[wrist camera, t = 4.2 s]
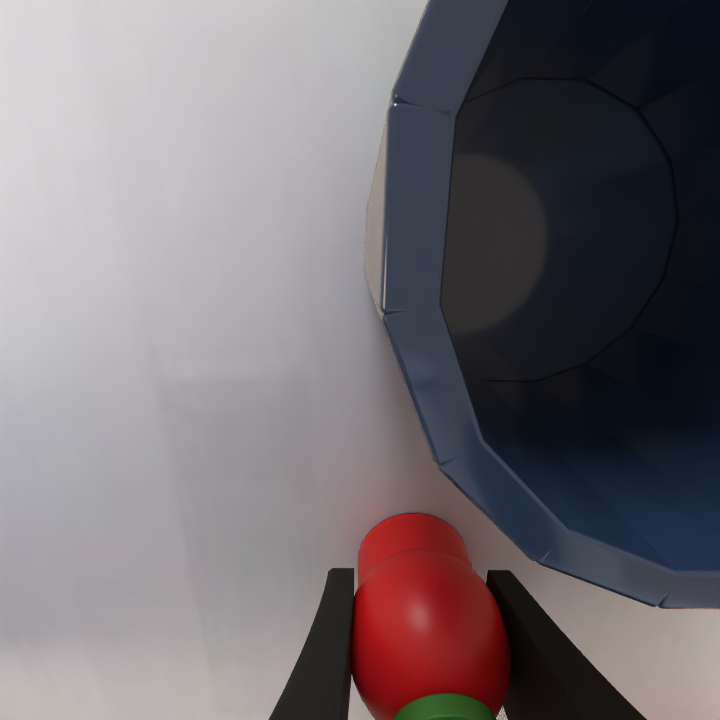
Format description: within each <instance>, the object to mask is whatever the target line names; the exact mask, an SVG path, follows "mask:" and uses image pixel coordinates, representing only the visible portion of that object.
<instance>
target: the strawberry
mask: <svg viewBox="0 0 720 720" xmlns="http://www.w3.org/2000/svg"><path fill="white" fill-rule="evenodd" d="M350 669H351V673H352V676H353V680H354V683H355V685H356V687H357V690H358V692H359V694H360V696H361V698H362V701H363V702H364V704H365V705H366V707H367V708H368V710H369V711H370V713H371V714H372V716H373V717H374V718H375V719H376V720H496V717H497V715H498V714H499V712H500V710H501V707H502V705H503V703H504V700H505V698H506V694H507V690H508V686H509V682H510V673H511V649H510V640H509V635H508V631H507V627H506V623H505V620H504V617H503V614H502V612H501V609H500V607H499V605H498V603H497V601H496V599H495V597H494V595H493V594H492V592H491V591H490V589H489V588H488V586H487V585H486V583H485V582H484V581H483V580H482V579H481V578H480V576H479V575H478V574H477V573H476V572H475V571H474V570H473V568H472V565H471V562H470V560H469V557H468V554H467V552H466V549H465V546H464V544H463V541H462V539H461V537H460V536H459V534H458V533H457V532H456V531H455V530H454V529H453V528H452V527H451V526H450V525H449V524H447V523H446V522H444V521H443V520H441V519H439V518H436V517H433V516H430V515H426V514H417V513H412V514H402V515H398V516H394V517H391V518H389V519H387V520H385V521H383V522H381V523H380V524H378V525H377V526H375V527H374V528H373V529H372V530H371V531H370V532H369V533H368V535H367V536H366V537H365V539H364V541H363V542H362V545H361V547H360V550H359V555H358V589H357V591H356V593H355V596H354V610H353V622H352V635H351V652H350Z"/></svg>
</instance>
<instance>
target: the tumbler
mask: <svg viewBox="0 0 720 720" xmlns="http://www.w3.org/2000/svg"><path fill="white" fill-rule="evenodd" d="M365 275H366V281H367V284H368V286H369V289H370V292H371V294H372V297H373V300H374V302H375V305H376V308H377V311H378V313H379V316H380V319H381V321H382V324H383V327H384V329H385V332H386V335H387V337H388V340H389V343H390V345H391V348H392V351H393V354H394V356H395V359H396V362H397V364H398V367H399V370H400V372H401V375H402V378H403V380H404V383H405V386H406V388H407V391H408V394H409V397H410V399H411V402H412V405H413V407H414V410H415V413H416V415H417V418H418V421H419V423H420V426H421V429H422V431H423V434H424V437H425V440H426V442H427V445H428V448H429V450H430V453H431V456H432V458H433V461H435V462H436V463H437V466H438V468H439V470H440V471H441V472H442V473H443V474H444V475H445V476H446V477H447V478H448V479H449V480H450V481H451V482H452V483H453V484H454V485H455V486H456V487H457V488H458V489H459V490H460V491H461V492H462V493H463V494H464V495H465V496H466V497H467V498H468V499H469V500H470V501H471V502H472V503H473V504H474V505H475V506H476V507H477V508H478V509H479V510H480V511H482V512H483V513H484V514H485V515H486V516H487V517H488V518H489V519H490V520H491V521H492V522H493V523H494V524H495V525H496V526H497V527H498V528H499V529H500V530H501V531H502V532H503V533H504V534H505V535H506V536H507V537H508V538H509V539H510V540H511V541H512V542H513V543H514V544H515V545H516V546H517V547H518V548H519V549H520V550H521V551H522V552H523V553H524V554H525V555H526V556H527V557H528V558H529V559H531V560H532V561H536V562H537V563H538V564H540V565H543V566H545V567H548V568H551V569H553V570H556V571H559V572H561V573H564V574H567V575H569V576H572V577H575V578H577V579H580V580H583V581H585V582H588V583H591V584H593V585H596V586H599V587H601V588H604V589H607V590H609V591H612V592H615V593H617V594H620V595H623V596H625V597H628V598H631V599H633V600H636V601H639V602H641V603H644V604H647V605H649V606H652V607H656V606H658V607H660V608H663V609H720V0H428V2H427V4H426V7H425V9H424V12H423V14H422V17H421V19H420V22H419V24H418V27H417V29H416V32H415V34H414V37H413V39H412V42H411V44H410V47H409V49H408V52H407V54H406V57H405V59H404V62H403V64H402V67H401V69H400V72H399V74H398V77H397V79H396V82H395V84H394V87H393V89H392V91H391V96H390V101H389V105H388V110H387V115H386V119H385V124H384V129H383V134H382V138H381V143H380V148H379V153H378V157H377V162H376V167H375V171H374V176H373V181H372V186H371V190H370V195H369V200H368V204H367V209H366V237H365Z"/></svg>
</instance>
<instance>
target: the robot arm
mask: <svg viewBox="0 0 720 720" xmlns="http://www.w3.org/2000/svg"><path fill="white" fill-rule="evenodd" d="M486 585H487V586H488V588H489V589H490V591H491V592H492V594H493V595H494V597H495V599H496V601H497V603H498V605H499V607H500V609H501V612H502V614H503V617H504V620H505V623H506V627H507V631H508V635H509V640H510V649H511V673H510V682H509V686H508V690H507V694H506V698H505V700H504V703H503V707H504V710H505V713H506V716H507V718H508V720H647V719H646V718H645V717H644V716H643V715H641V714H640V713H639V712H638V711H637V710H636V709H635V708H634V707H633V706H632V705H631V704H630V703H629V702H628V701H627V700H626V699H625V698H624V697H623V696H622V695H621V694H620V693H619V692H618V691H617V690H616V689H615V688H614V687H613V686H612V685H611V684H610V682H609V681H608V680H607V679H606V678H605V677H604V676H603V675H602V674H601V673H600V672H599V671H598V670H597V669H596V668H595V667H594V666H593V665H592V664H591V663H590V662H589V660H588V659H587V658H586V657H585V656H584V655H583V654H582V653H581V652H580V651H579V650H578V648H577V647H576V646H575V645H574V644H573V643H572V642H571V641H570V640H569V638H568V637H567V636H566V635H565V634H564V633H563V632H562V631H561V630H560V628H559V627H558V626H557V625H556V624H555V623H554V622H553V620H552V619H551V618H550V617H549V616H548V615H547V613H546V612H545V611H544V610H543V609H542V608H541V606H540V605H539V604H538V603H537V602H536V601H535V599H534V598H533V597H532V596H531V595H530V594H529V592H528V591H527V590H526V589H525V588H524V586H523V585H522V584H521V583H520V582H519V580H518V579H517V578H516V577H515V576H514V575H513V573H512V572H511V571H510V570H488V575H487V581H486ZM353 610H354V568H332V569H331V570H329V571H328V576H327V581H326V585H325V589H324V592H323V596H322V599H321V602H320V605H319V608H318V611H317V614H316V617H315V619H314V622H313V624H312V627H311V629H310V632H309V634H308V637H307V639H306V642H305V644H304V647H303V649H302V652H301V654H300V656H299V658H298V660H297V663H296V665H295V667H294V669H293V671H292V673H291V676H290V678H289V680H288V682H287V684H286V686H285V689H284V691H283V693H282V695H281V697H280V699H279V701H278V703H277V705H276V707H275V708H274V710H273V712H272V714H271V716H270V718H269V720H348V710H349V698H350V687H351V675H352V673H351V669H350V652H351V635H352V622H353Z"/></svg>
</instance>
